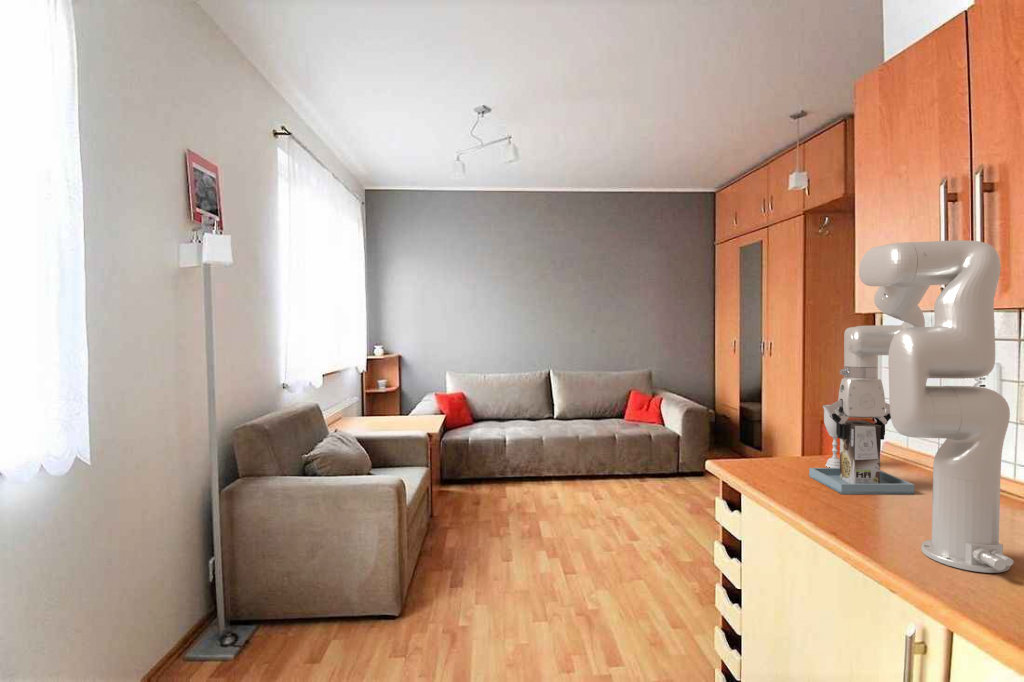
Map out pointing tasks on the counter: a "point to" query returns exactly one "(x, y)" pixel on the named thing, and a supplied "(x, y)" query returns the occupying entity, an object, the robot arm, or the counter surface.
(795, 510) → the counter surface
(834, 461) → the chalice
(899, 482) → the tray
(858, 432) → the coffee box
